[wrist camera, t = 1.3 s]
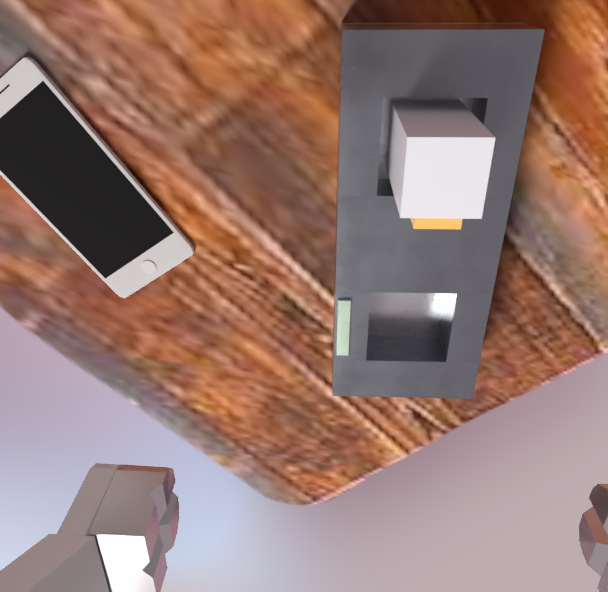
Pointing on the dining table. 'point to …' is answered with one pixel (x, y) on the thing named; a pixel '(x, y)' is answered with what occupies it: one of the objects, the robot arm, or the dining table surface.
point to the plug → (438, 162)
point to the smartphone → (82, 184)
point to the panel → (399, 231)
